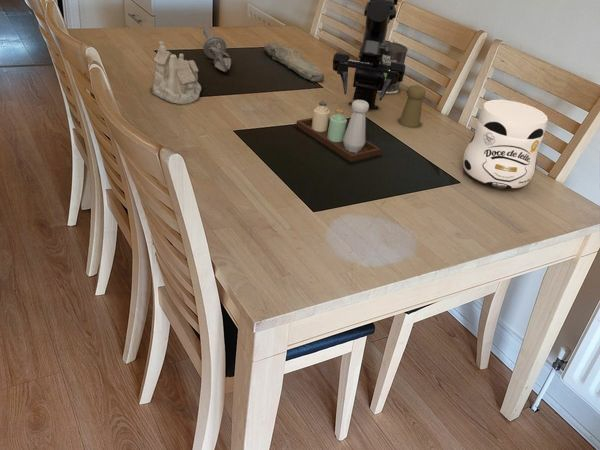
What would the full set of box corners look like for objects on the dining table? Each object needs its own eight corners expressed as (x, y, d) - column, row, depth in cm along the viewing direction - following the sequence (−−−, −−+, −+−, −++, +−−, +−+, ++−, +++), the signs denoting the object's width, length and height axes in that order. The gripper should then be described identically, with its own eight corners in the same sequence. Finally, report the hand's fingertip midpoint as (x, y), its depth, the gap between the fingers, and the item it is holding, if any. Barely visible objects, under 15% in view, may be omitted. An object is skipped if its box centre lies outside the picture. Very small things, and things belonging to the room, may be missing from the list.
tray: (324, 122, 169) (325, 115, 168) (379, 156, 154) (381, 149, 153) (295, 127, 163) (296, 120, 162) (350, 163, 148) (351, 156, 147)
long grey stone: (304, 87, 194) (329, 86, 199) (307, 72, 191) (333, 71, 196) (256, 48, 217) (279, 48, 222) (258, 34, 214) (281, 34, 220)
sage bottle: (336, 134, 161) (340, 106, 157) (346, 140, 158) (351, 112, 154) (323, 136, 159) (328, 108, 154) (334, 143, 156) (338, 114, 152)
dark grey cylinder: (394, 96, 193) (403, 53, 186) (364, 89, 196) (372, 46, 189) (402, 87, 202) (411, 46, 194) (373, 80, 204) (380, 39, 197)
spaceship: (218, 21, 215) (198, 13, 211) (243, 63, 190) (221, 54, 186) (209, 41, 219) (189, 33, 214) (232, 84, 194) (210, 76, 189)
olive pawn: (421, 122, 177) (430, 86, 171) (416, 128, 172) (425, 92, 167) (402, 116, 179) (410, 81, 173) (396, 123, 174) (404, 87, 168)
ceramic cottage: (171, 105, 166) (173, 51, 159) (142, 88, 176) (143, 36, 169) (218, 100, 175) (222, 48, 168) (188, 84, 186) (190, 34, 178)
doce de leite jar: (491, 200, 141) (515, 130, 131) (445, 166, 153) (463, 100, 143) (543, 190, 148) (569, 123, 138) (495, 159, 161) (515, 95, 151)
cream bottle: (320, 124, 166) (324, 99, 162) (330, 130, 163) (334, 104, 159) (308, 126, 163) (311, 101, 159) (317, 132, 160) (321, 107, 156)
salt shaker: (368, 150, 155) (377, 102, 148) (355, 156, 151) (364, 107, 144) (350, 142, 158) (358, 95, 151) (337, 147, 154) (345, 100, 147)
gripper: (339, 20, 150) (327, 76, 147) (412, 32, 149) (402, 89, 145) (338, 43, 161) (327, 95, 158) (407, 54, 159) (397, 107, 156)
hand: (362, 96), depth 154 cm, fingers open, 9 cm apart
